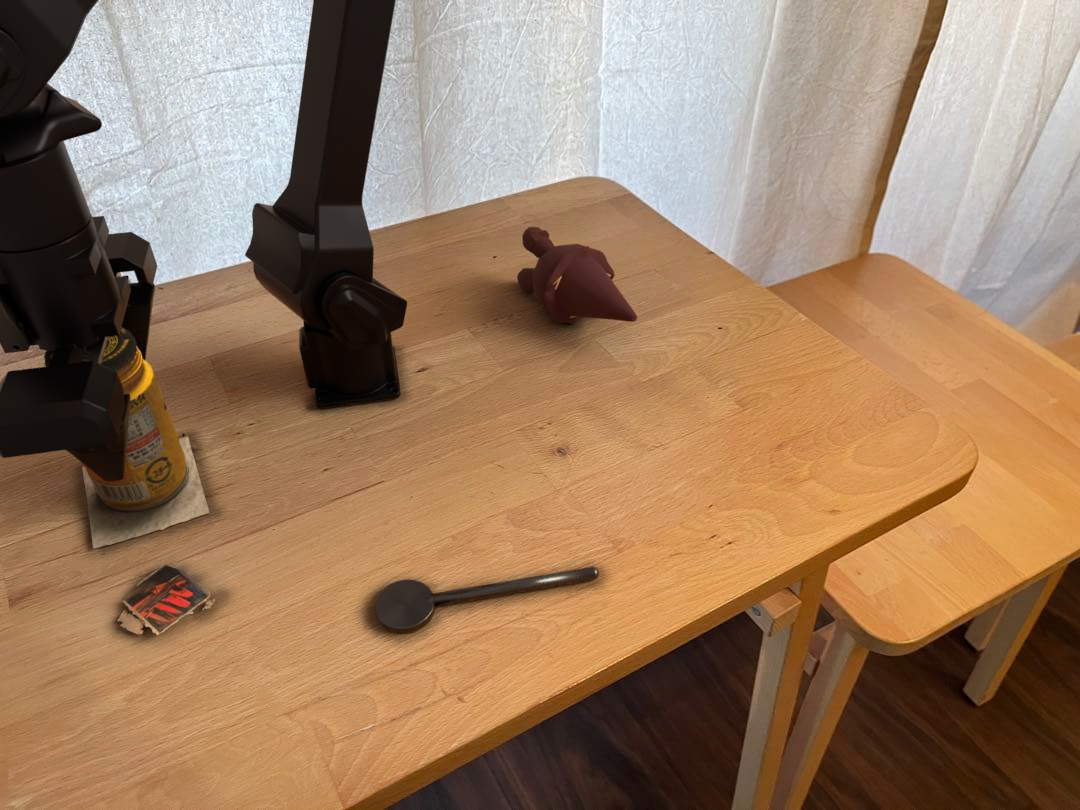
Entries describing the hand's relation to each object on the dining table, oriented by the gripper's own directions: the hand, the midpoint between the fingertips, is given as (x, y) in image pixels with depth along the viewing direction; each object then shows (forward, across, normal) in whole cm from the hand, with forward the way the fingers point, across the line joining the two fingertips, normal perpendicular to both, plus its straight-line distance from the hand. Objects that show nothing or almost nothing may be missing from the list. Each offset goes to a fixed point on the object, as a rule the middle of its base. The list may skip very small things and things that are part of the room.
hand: (124, 435), depth 58 cm
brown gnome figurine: (+5, -14, +34) cm, 37 cm away
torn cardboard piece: (+5, +11, +2) cm, 12 cm away
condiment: (+5, 0, 0) cm, 5 cm away
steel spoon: (+5, +14, +22) cm, 27 cm away
